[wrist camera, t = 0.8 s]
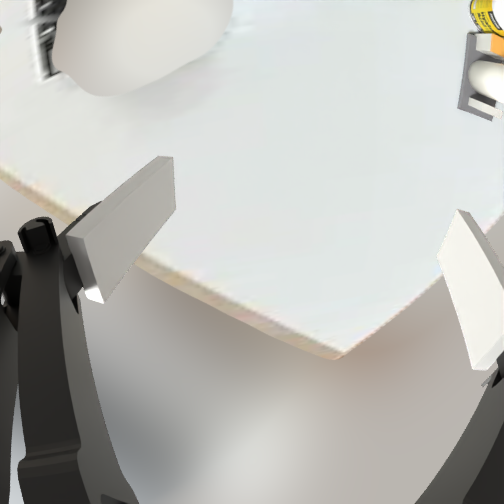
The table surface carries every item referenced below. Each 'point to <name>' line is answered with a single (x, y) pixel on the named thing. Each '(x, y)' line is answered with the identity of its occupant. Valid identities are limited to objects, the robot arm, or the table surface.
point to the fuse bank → (483, 76)
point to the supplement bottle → (487, 16)
